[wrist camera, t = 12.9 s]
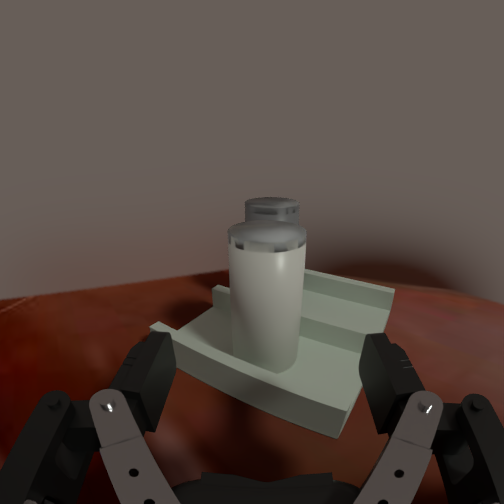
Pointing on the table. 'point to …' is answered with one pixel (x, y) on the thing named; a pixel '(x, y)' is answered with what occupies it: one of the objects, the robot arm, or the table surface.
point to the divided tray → (308, 357)
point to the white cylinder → (266, 291)
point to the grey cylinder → (272, 209)
